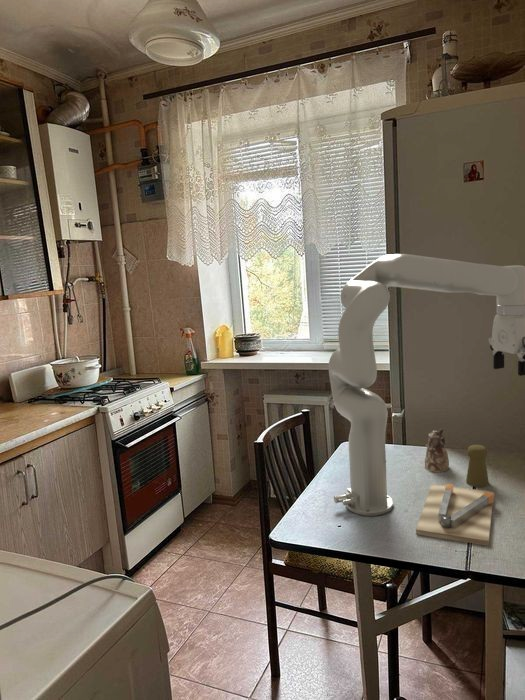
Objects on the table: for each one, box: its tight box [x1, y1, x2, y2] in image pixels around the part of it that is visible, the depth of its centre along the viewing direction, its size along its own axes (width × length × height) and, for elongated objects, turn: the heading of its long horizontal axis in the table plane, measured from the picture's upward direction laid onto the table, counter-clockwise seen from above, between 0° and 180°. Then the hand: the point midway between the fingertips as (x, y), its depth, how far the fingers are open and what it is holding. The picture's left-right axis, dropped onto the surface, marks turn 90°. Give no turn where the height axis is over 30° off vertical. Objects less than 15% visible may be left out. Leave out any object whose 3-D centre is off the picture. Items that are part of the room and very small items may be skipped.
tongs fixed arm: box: [438, 483, 454, 522], centre depth 135 cm, size 18×2×2 cm, turn 154°
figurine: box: [424, 428, 450, 473], centre depth 162 cm, size 7×7×12 cm
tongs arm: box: [441, 492, 495, 528], centre depth 131 cm, size 20×3×2 cm, turn 129°
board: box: [415, 483, 494, 547], centre depth 134 cm, size 26×16×1 cm, turn 154°
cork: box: [465, 444, 489, 488], centre depth 149 cm, size 6×6×11 cm
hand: (510, 371), depth 148 cm, fingers open, 9 cm apart
